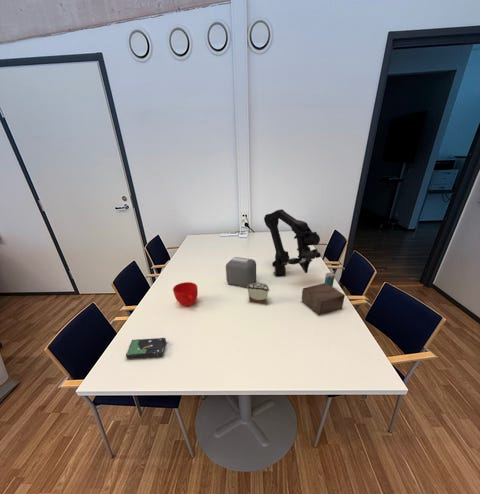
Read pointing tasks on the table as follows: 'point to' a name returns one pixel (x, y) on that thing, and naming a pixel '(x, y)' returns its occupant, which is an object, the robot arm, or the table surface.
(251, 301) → the food container
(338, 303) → the cabinet
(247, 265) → the alarm clock
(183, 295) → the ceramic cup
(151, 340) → the disk drive
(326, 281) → the tea tin
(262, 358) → the table surface
